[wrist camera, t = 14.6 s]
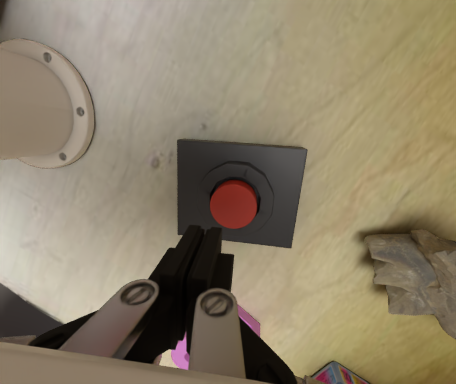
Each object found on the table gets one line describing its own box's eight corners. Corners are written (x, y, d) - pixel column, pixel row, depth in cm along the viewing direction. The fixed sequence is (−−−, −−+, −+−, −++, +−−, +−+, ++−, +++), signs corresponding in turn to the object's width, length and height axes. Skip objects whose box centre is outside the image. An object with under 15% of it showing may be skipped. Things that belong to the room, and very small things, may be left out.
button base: (184, 226, 25) (171, 243, 22) (184, 138, 22) (169, 140, 19) (288, 238, 24) (294, 258, 20) (302, 147, 21) (312, 151, 17)
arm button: (212, 218, 21) (208, 226, 19) (214, 177, 19) (210, 182, 18) (254, 222, 20) (254, 231, 19) (259, 181, 19) (259, 186, 17)
